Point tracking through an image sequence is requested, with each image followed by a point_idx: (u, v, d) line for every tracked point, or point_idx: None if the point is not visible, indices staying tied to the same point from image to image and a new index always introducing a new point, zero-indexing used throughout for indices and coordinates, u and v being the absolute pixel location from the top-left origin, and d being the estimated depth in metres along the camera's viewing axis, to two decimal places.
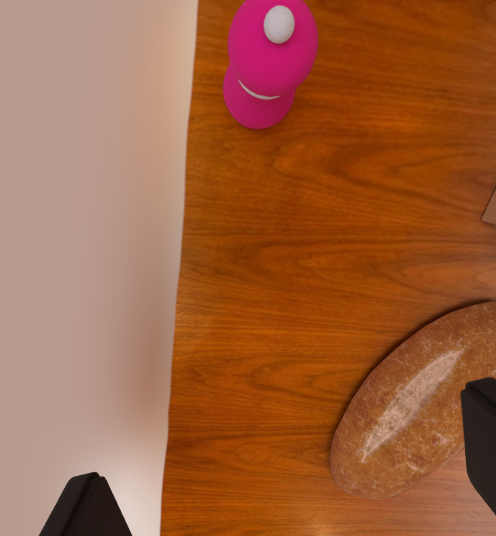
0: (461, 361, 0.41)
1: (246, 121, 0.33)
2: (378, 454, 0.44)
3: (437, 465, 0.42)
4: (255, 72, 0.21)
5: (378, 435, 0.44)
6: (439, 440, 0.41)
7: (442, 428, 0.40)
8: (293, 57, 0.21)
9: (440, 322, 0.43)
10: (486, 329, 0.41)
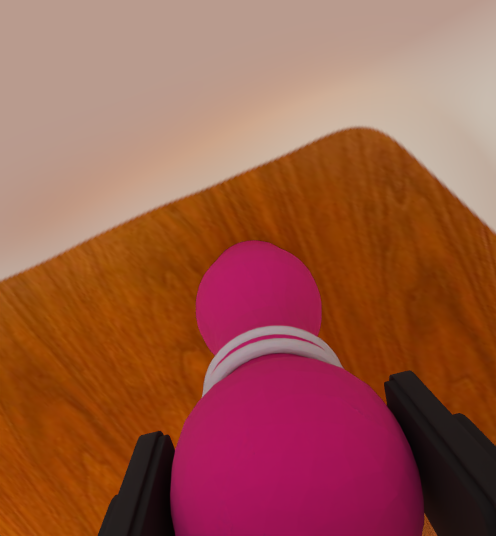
0: None
1: (198, 323, 0.18)
2: None
3: None
4: None
5: None
6: None
7: None
8: None
9: None
10: None
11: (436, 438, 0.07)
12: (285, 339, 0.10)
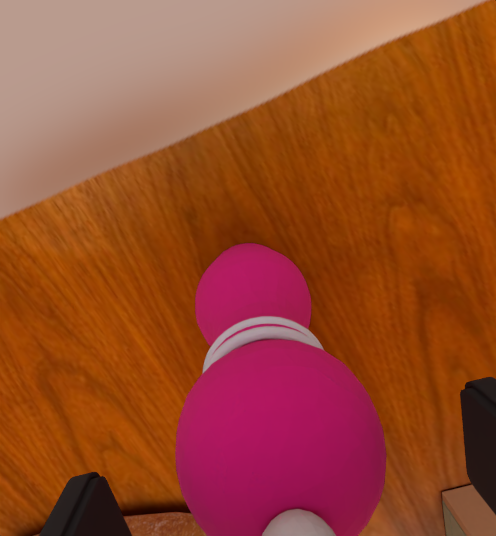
0: None
1: (197, 319, 0.20)
2: None
3: None
4: (189, 494, 0.08)
5: None
6: None
7: None
8: None
9: None
10: None
11: None
12: (274, 327, 0.12)
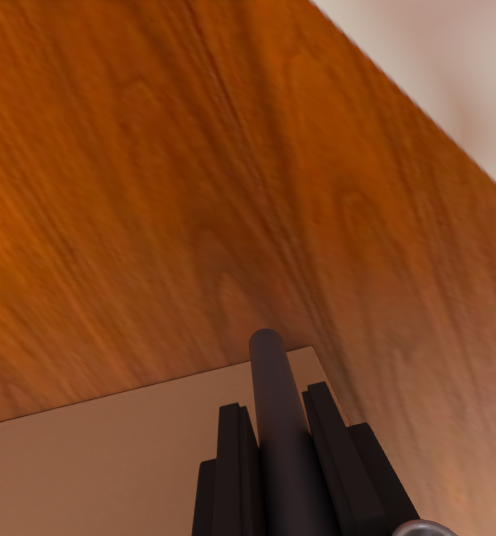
0: None
1: None
2: None
3: None
4: None
5: None
6: None
7: None
8: None
9: None
10: None
11: (325, 447, 0.07)
12: None
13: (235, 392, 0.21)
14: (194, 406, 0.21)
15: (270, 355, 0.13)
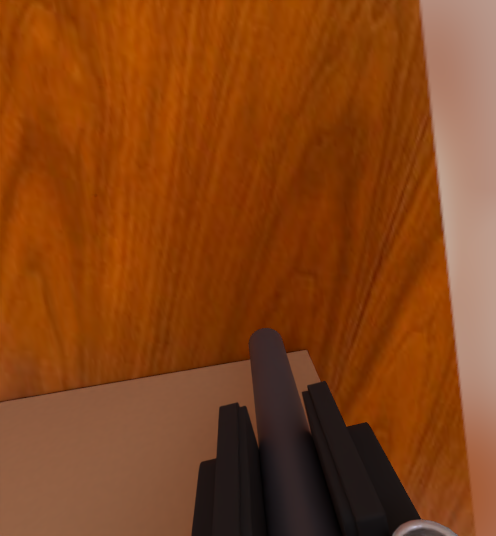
0: None
1: None
2: None
3: None
4: None
5: None
6: None
7: None
8: None
9: None
10: None
11: (325, 447, 0.07)
12: None
13: (228, 390, 0.21)
14: (186, 401, 0.21)
15: (271, 354, 0.13)
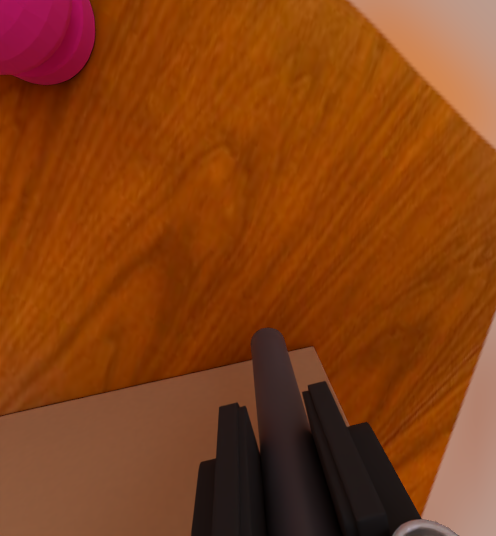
0: None
1: None
2: None
3: None
4: None
5: None
6: None
7: None
8: None
9: None
10: None
11: (326, 447, 0.07)
12: None
13: (236, 391, 0.21)
14: (194, 404, 0.21)
15: (272, 354, 0.13)
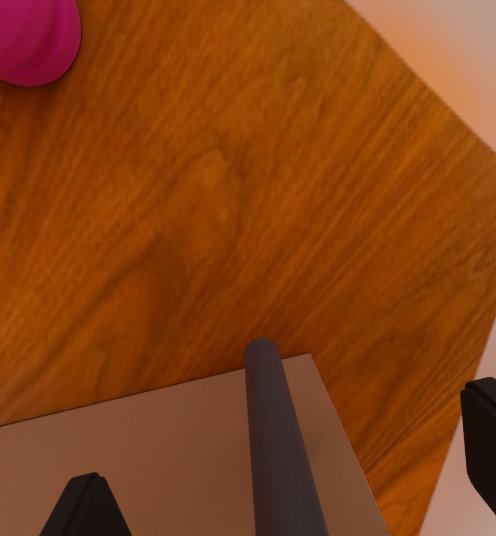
0: None
1: None
2: None
3: None
4: None
5: None
6: None
7: None
8: None
9: None
10: None
11: None
12: None
13: (230, 401, 0.20)
14: (187, 416, 0.20)
15: (265, 368, 0.12)
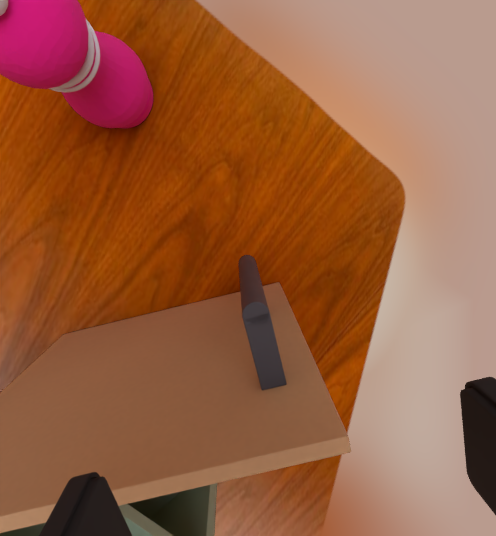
0: None
1: None
2: None
3: None
4: None
5: None
6: None
7: None
8: None
9: None
10: None
11: None
12: (87, 23, 0.20)
13: (231, 303, 0.36)
14: (207, 310, 0.36)
15: (247, 261, 0.28)
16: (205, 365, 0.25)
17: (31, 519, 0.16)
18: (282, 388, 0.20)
